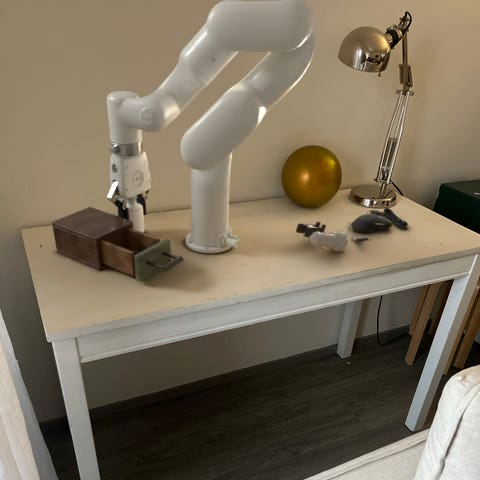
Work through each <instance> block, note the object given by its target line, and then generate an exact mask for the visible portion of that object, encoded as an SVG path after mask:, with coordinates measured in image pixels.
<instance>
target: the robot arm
mask: <svg viewBox="0 0 480 480" xmlns="http://www.w3.org/2000/svg"><path fill="white" fill-rule="evenodd" d="M316 29H317V27H316V21H315V16H314V13H313V11H312V9H311V8H310V6H309V4H308V3H307V2H305V1H304V0H250V1H249V0H247V1H246V0H222V1H218V3H216V4H214V6H213V7H212V8H211V9H210V11H209V13H208V16H207V18H206V22H205V24H203V26H202V27H201V28H200V29H199V30H198V31H197V33H195V35H194V36H193V37H192V38H191V39H190V40H189V42H187V43H186V44H185V46H184V47H183V48H182V50H181V52H180V53H179V57H178V61H177V62H178V63H177V64H176V66H175V67H174V69H173V70H172V71H171V72H170V74H169V75H168V76H167V77H166V78H165V80H164V81H163V82H162V83H161V84H160V85H159V87H158V88H157V89H155V91H153V92H151V93H149V94H148V95H146V96H143V97H140V96H139V95H138V94H137V93H136V92H133V91H128V90H116V91H111V92H109V94H108V95H107V96H106V109H107V119H108V128H109V140H110V147H109V152H110V153H111V155H110V158H109V160H110V161H109V179H110V180H109V181H110V182H109V184H110V190H109V193H108V194H107V196H106V199H107V200H108V201H109V202H111V204H113V205H114V206H115V207H117V216H118V217H121V218H124V219H126V220H129V210H128V208H126V206H127V200H128V199H129V198H131V197H134V196H136V203H139V204H141V205H142V206H143V216H146V215H147V201H146V200H148V195H149V193H150V189H151V187H152V185H153V181H152V179H151V172H150V166H149V160H148V157H147V152H146V151H145V150H144V143H143V140H144V139H143V132H147V133H158V132H160V131H163V130H164V129H165V128H166V127H167V126H168V125H170V124H171V123H172V122H173V121H174V120H175V119H176V118H177V117H178V116H179V115H180V114H181V113H182V112H183V111H184V110H185V109H186V108H187V107H188V106H189V105H190V103H192V101H193V100H194V99H195V98H196V97H197V96H198V95H199V94H200V92H202V90H203V89H205V88H206V87H208V86H209V84H210V83H211V82H212V81H213V80H214V79H215V78H216V77H217V76H218V75H219V74H220V73H221V71H222V70H223V69H225V67H226V66H227V65H228V64H229V63H230V62H231V60H233V58H235V57H236V55H237V54H239V53H266V54H265V56H264V57H263V58H262V59H261V60H260V61H259V62H258V63H257V64H256V65H255V67H253V68H252V69H251V71H249V72H248V73H246V75H245V76H244V77H243V78H242V79H241V80H240V81H239V82H237V83H236V84H235V85H233V86H231V87H230V88H229V89H227V91H225V93H223V94H222V96H220V98H218V99H217V100H216V102H215V103H214V104H213V105H212V106H211V107H210V108H208V110H206V111H205V112H204V114H203V115H201V116H200V118H198V119H197V120H196V121H195V122H194V123H193V124H192V125H191V126H190V127H189V128H188V129H187V130H186V131H185V132H184V134H183V135H182V138H181V141H180V147H179V148H180V149H179V151H180V154H181V157H182V159H183V161H184V163H185V164H186V165H187V166H188V167H189V168H190V232H189V233H187V234H186V236H185V239H184V240H185V245H186V246H187V247H188V248H189V249H190V250H192V251H195V252H198V253H201V254H219V253H223V252H226V251H228V250H230V249H231V248H234V249H237V248H238V247H239V244H240V240H241V239H240V236H237V235H233V233H232V232H233V229H232V227H229V215H230V214H229V213H230V211H229V210H230V187H231V186H230V185H231V170H232V169H231V168H232V156H233V152H235V150H236V149H237V148H238V147H240V145H242V144H243V143H244V142H245V141H246V140H247V139H248V138H249V137H251V135H252V134H253V133H254V132H255V131H256V130H257V128H258V127H259V125H260V123H261V122H262V121H263V119H264V117H265V115H267V114H268V112H269V111H270V110H272V108H273V107H274V106H275V105H277V104H278V103H279V102H280V101H281V100H282V99H283V98H284V97H285V95H287V94H288V93H289V92H290V91H291V90H292V89H293V88H294V87H295V86H296V85H297V83H299V81H300V80H301V79H302V77H303V76H304V75H305V74H306V72H307V70H308V68H309V66H310V65H311V62H312V60H313V56H314V53H315V49H316V44H317V43H316V42H317V30H316Z"/></svg>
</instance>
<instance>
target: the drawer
mask: <svg viewBox="0 0 480 480" xmlns="http://www.w3.org/2000/svg"><path fill="white" fill-rule="evenodd" d="M99 247H100V255H101V263H103V264H105V265H107V267H110V268H113V269H115V270H117V271H120V272H122V273H125V274H126V275H130V276H132V277H135V281H136V282H139V283H141V282H143V281H145V280H146V279H148V278H150V277H151V276H152V275H154V274H156V273H158V272H159V271H161V272H162V273H167V272H168V271H169V270H171V269H173V268H175V267H176V266H177V265H179V264H181V263H183V262H184V260H185V258H184V257H183V256H182V255H179V256H177V255H175V254H172V253H171V250H172V249H171V239H169V238H164V239H162V240H161V238H159V237H157V236H154V235H151V234H148V233H145V232H140V231H137V230H135V229H132V228H129V227H127V228H125V229H123V230H121V231H119V232H116V233H114V234H112V235H110V236H108V237H106V238H104V239H102V240H100V241H99Z"/></svg>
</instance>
